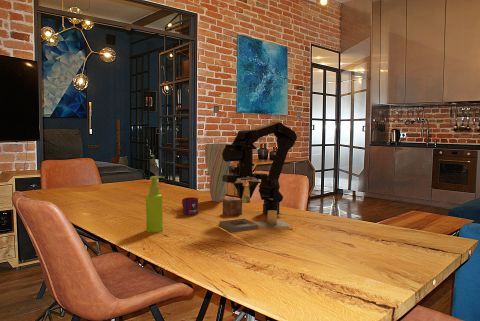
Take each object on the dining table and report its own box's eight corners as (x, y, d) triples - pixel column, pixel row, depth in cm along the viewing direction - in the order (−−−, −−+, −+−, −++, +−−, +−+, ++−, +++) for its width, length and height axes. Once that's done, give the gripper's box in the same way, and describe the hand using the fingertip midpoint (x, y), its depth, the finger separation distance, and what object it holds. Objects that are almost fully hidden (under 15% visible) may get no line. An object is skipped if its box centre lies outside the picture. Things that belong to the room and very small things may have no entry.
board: (276, 220, 158) (276, 207, 158) (291, 226, 149) (292, 212, 148) (253, 223, 154) (253, 209, 153) (267, 229, 144) (267, 215, 143)
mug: (186, 216, 166) (186, 200, 166) (177, 211, 175) (177, 197, 174) (200, 214, 170) (200, 199, 169) (191, 210, 178) (191, 195, 178)
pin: (247, 201, 162) (247, 184, 162) (251, 202, 159) (252, 185, 158) (238, 201, 161) (238, 185, 160) (243, 203, 157) (243, 186, 157)
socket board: (244, 223, 154) (244, 218, 153) (258, 229, 144) (258, 224, 144) (219, 226, 149) (219, 221, 148) (231, 233, 139) (231, 227, 139)
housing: (235, 212, 174) (235, 197, 173) (241, 215, 168) (242, 199, 168) (222, 213, 171) (222, 198, 171) (228, 216, 165) (228, 200, 165)
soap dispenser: (167, 228, 145) (166, 175, 143) (157, 233, 138) (156, 177, 137) (153, 227, 147) (152, 174, 145) (143, 231, 140) (142, 176, 139)
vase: (235, 200, 206) (236, 143, 203) (221, 203, 194) (221, 144, 192) (215, 197, 213) (215, 143, 211) (199, 201, 202) (199, 143, 199)
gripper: (256, 158, 170) (255, 194, 171) (217, 159, 161) (216, 196, 163) (269, 160, 160) (268, 198, 161) (228, 161, 152) (227, 201, 153)
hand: (245, 198), depth 160 cm, fingers closed on pin, 4 cm apart
